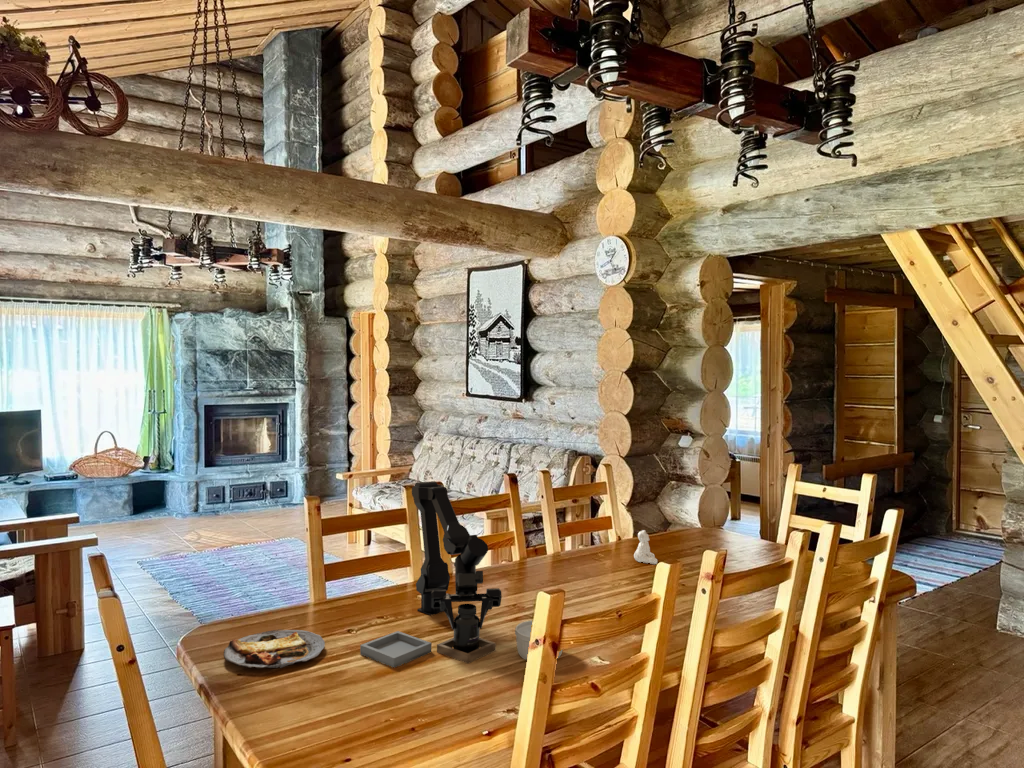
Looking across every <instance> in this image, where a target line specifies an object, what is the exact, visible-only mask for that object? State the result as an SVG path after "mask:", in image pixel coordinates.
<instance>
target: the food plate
mask: <svg viewBox="0 0 1024 768" xmlns="http://www.w3.org/2000/svg"><path fill="white" fill-rule="evenodd" d="M325 645H326V642H325V639H323V637H322V636H321V635H320V634H316V633H314V632H311V631H309V630H301V629H280V630H279V629H273V630H267V631H262V632H261V633H260V632H258V633H253V634H250V635H247V636H246V635H245V636H244V637H241V638H238V639H231V640H230V641H229V644H228V646H226V648H224V649H223V650H224V651H223V657H224V659H225V660H226V661H227V662H229V663H232V664H234V665H236V666H240V667H243V668H244V669H246V668H248V669H251V668H254V667H255V668H256V669H263V668H270V669H273V668H274V669H277V668H280V669H283V668H284V667H287V666H289V665H294V664H295V663H301V662H308V661H309V660H312V659H314V658H316V657H318V656H319V655H320V654H321V652H322V650H323V649H324V648H325ZM307 650H308V652H307ZM305 653H307V654H306V655H305ZM298 656H303V657H299V658H298Z"/></svg>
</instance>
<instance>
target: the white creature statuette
mask: <svg viewBox="0 0 1024 768" xmlns="http://www.w3.org/2000/svg"><path fill="white" fill-rule="evenodd" d="M637 538H638V540H639V543H638V545H637V548H636V550H635V551H634V554H633V558H634V560H635V561H636V562H638V563H641V562H643V563H642V564H648V563H650V564H649V565H657V564H658V559H657V558H656V557H655V554H654V553H653V552H651V547H650V544H649V541H650V536H649V534H648V533H647V532H646V530H645V529H642V530H640V531H639V532H638V533H637Z"/></svg>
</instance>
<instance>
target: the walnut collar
mask: <svg viewBox="0 0 1024 768" xmlns="http://www.w3.org/2000/svg"><path fill="white" fill-rule="evenodd" d="M452 647H454V637H452V638H450V639H447V640H445V641H442V642H439V643H438V644H436V653H438V654H441V655H443V654H444V655H443V656H446V657H449V658H451V657H452V658H451V659H454V658H455V660H457V659H458V660H457V661H460V662H463V663H465V664H469V663H472V662H474V661H476V660H478V659H481V658H483V657H485V656H486V655H489V654H491V653H494V652H496V651H497V642H494V641H491V640H488V639H485V638H482V637H479V649H476V650H474V651H472V652H470V653H465V652H462V651H459V650H456V649H454V648H452Z"/></svg>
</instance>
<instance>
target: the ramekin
mask: <svg viewBox="0 0 1024 768" xmlns="http://www.w3.org/2000/svg"><path fill="white" fill-rule="evenodd" d="M531 625H532V620H525V621H522V622H520V623H518V624H517V625H516V626H515V628H514V629H515V630H514V633H515V634H514V635H515V638H516V648H517V649H516V650H517V653H518V655H519V656H520V657H521V658H522V659H523V660H525V661H527V660H526V659H527V654H528V647H529V641H530V632H531ZM562 654H563V650H561V651H560V652H559V656H558V659H559V658H560V657H561V655H562Z"/></svg>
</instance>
